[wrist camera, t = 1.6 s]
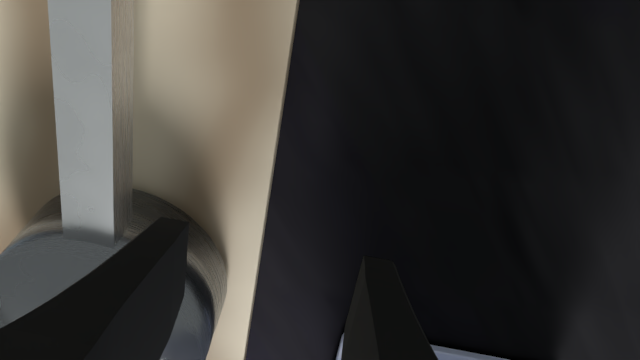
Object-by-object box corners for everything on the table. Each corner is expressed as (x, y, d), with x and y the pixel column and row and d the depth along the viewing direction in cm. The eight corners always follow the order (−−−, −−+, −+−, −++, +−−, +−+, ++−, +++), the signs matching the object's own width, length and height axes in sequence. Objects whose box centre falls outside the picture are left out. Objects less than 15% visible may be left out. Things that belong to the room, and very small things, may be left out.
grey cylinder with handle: (218, 360, 26) (177, 495, 20) (34, 326, 26) (-54, 452, 20) (267, -53, 17) (217, 0, 12) (-13, -108, 17) (-187, -79, 12)
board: (313, -90, 18) (309, -86, 17) (225, 492, 33) (221, 509, 32) (-293, -210, 17) (-328, -212, 17) (-97, 432, 33) (-110, 448, 32)
